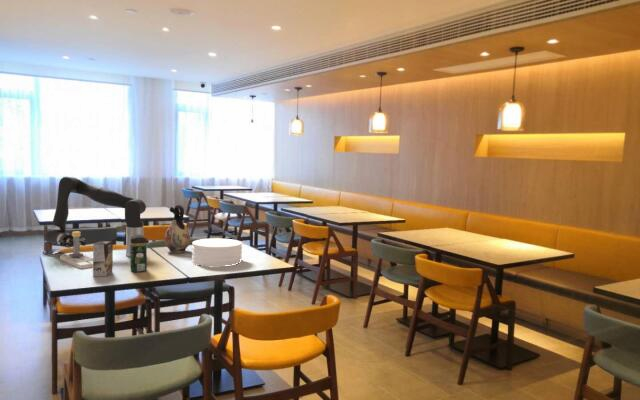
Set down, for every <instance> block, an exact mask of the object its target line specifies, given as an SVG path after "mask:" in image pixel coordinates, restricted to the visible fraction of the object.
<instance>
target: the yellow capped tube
mask: <svg viewBox="0 0 640 400" xmlns="http://www.w3.org/2000/svg"><path fill="white" fill-rule="evenodd" d="M81 233H82V232H81V231H79V230H78V231H77V230H76V231H71V235H72V236H73V247H72V253H69V254H68V255H69V256H70V257H72V258H73V257H82V256H83V255H84V254H83V253H82V252H80V245H79V240H81V238H80V237H82V236H81Z"/></svg>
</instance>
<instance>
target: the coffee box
mask: <svg viewBox="0 0 640 400" xmlns="http://www.w3.org/2000/svg"><path fill="white" fill-rule="evenodd" d="M113 244H114V240H113V241H112V240H99V241H97V242H95V243H93V244H92V245H93V249H92V252H93V255H92V257H93V267H92V277H107V276H109V275H110V274H112V273H113V265H114V264H113V255H114V254H113V252H114V251H113V250H114V247H113V246H114V245H113Z"/></svg>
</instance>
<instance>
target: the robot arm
mask: <svg viewBox="0 0 640 400" xmlns="http://www.w3.org/2000/svg"><path fill="white" fill-rule="evenodd" d="M57 189H58V190H57V201H56V208H55V212H54V215H53V219H52V225H53V226H54V227H57V228H59V230H58V229H49V230H47V231H46V232H45V235H44V236H45V239H46V241H48V242H51V243H56V244H57V246H60V247H64V248H69V249H71V248H73V236H72V233H71V234H70V233H69V232H66V230H67V228H66V227H67V221H68V217H69V197H70V194H71V193H73V194H79V195H82V196H85V197H87V198H89V199H90V200H92V201H93V202H96V203H98V204H102V205H105V206H109V207H117V208H121V209H124V221H125V225H126V228H125V229H126V233H125V237H126V239H125V240H126V241H125V249H126V250H125V256H126V257H130V241H131V237H132V236H134V235H143V236H144V222H143V221H142V219H141V214H143V213H145V211H146V209H147V206H146V203H145V202H144V201H143V200H142V199H139V198H133V197H130V196H127V195H123V194H121V193H118V192H116V191H114V190H111V189H108V188H105V187H102V186H99V185H94V184H90V183H87V182H85V181H83V180H81V179H78V178H77V177H73V176H64V177H61V178H60V180H59V182H58V188H57ZM86 245H87V239H86V238H82V237H81V238H80V240H79V246H83V247H84V246H86Z"/></svg>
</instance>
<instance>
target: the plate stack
mask: <svg viewBox="0 0 640 400" xmlns="http://www.w3.org/2000/svg"><path fill="white" fill-rule="evenodd" d="M191 245H192V247H191V250H192V251H191V263H192V264H193V263H194V264H193V265H195V264H197V265H196V266H198V265H201V266H200V267H203V266H225V265H232V264H236V263H239V262H240V259H241V260H242V258H243V257H242V250H243V246H242V245H243V242H242V241H240V240H238V239H230V238H218V237H217V238H216V237H215V238H202V239H196V240H194V241H192V244H191Z"/></svg>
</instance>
